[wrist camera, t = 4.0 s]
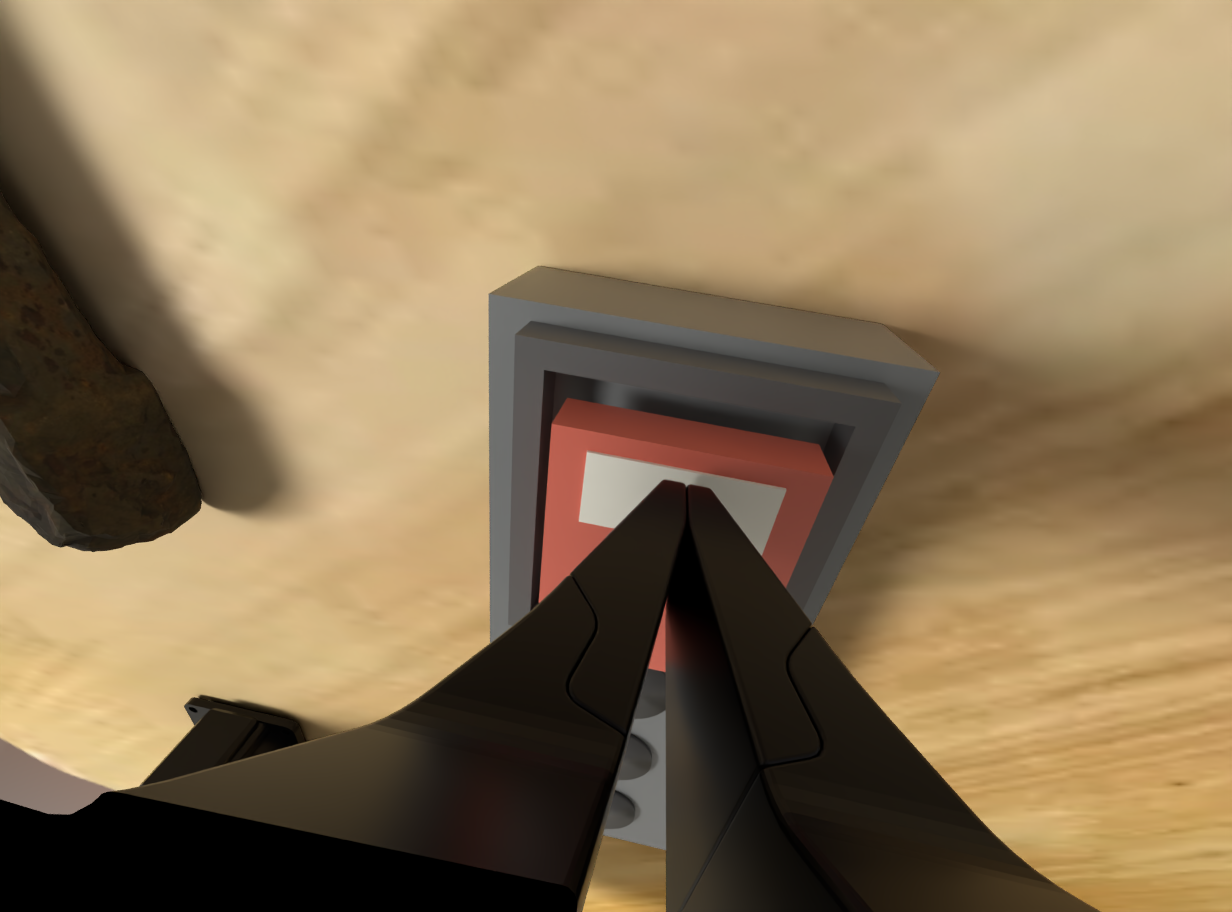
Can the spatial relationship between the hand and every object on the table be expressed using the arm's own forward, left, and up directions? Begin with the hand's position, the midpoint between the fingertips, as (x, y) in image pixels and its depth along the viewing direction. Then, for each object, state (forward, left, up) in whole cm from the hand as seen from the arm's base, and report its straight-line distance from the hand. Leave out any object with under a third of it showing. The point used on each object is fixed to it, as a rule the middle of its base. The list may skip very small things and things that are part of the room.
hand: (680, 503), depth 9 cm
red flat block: (-2, 0, -1) cm, 2 cm away
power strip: (-9, 0, -6) cm, 11 cm away
